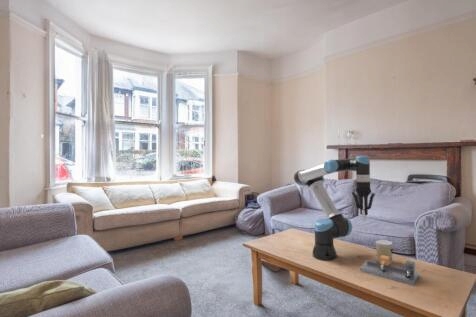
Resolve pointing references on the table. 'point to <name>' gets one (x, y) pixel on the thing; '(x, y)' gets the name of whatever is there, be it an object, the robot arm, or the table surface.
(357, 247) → the table surface
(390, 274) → the plate
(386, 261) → the block
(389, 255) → the coffee cup
